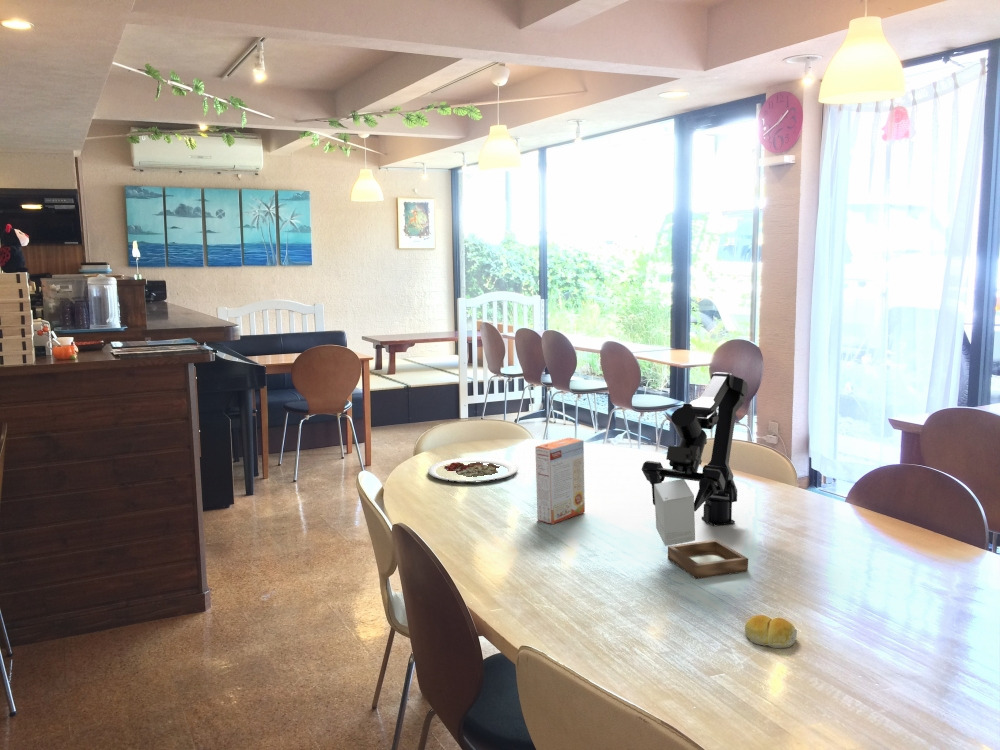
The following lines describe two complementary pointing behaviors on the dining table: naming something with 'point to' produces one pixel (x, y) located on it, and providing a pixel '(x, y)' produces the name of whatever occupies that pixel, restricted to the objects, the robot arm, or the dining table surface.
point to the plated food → (474, 467)
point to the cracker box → (560, 480)
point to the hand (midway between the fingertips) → (673, 507)
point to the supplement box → (674, 512)
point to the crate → (707, 559)
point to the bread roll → (770, 631)
